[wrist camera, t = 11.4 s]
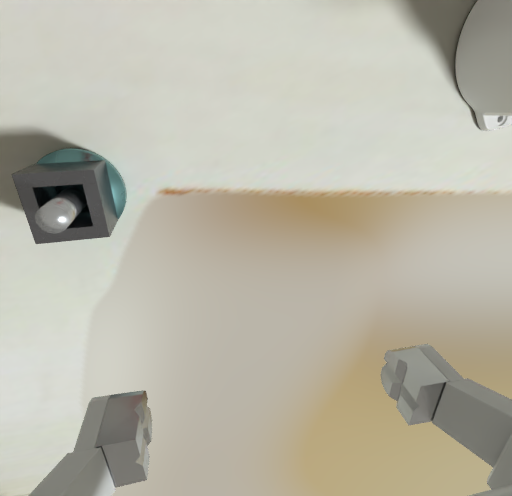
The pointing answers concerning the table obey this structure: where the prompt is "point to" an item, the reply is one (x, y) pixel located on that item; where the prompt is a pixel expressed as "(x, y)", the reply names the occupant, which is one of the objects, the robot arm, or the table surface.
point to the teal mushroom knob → (75, 192)
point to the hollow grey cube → (44, 189)
